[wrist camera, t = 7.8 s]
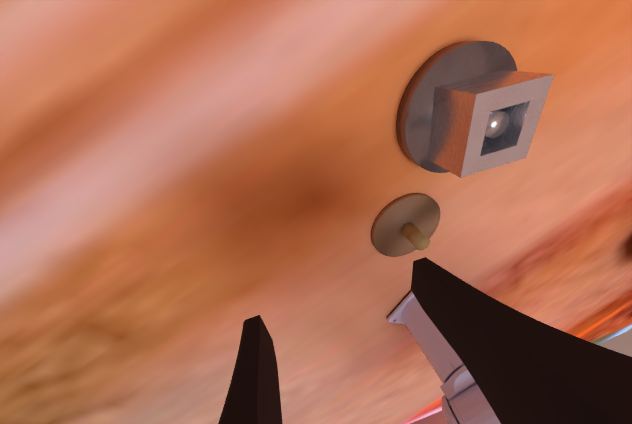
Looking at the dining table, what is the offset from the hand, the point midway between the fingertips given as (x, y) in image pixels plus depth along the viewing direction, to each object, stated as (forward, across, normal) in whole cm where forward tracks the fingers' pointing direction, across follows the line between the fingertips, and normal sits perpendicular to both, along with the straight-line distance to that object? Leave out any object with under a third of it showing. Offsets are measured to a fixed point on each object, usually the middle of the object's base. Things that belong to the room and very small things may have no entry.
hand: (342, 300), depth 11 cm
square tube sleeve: (+9, -13, -3) cm, 16 cm away
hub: (+10, -13, -3) cm, 17 cm away
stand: (+10, -10, +7) cm, 16 cm away
